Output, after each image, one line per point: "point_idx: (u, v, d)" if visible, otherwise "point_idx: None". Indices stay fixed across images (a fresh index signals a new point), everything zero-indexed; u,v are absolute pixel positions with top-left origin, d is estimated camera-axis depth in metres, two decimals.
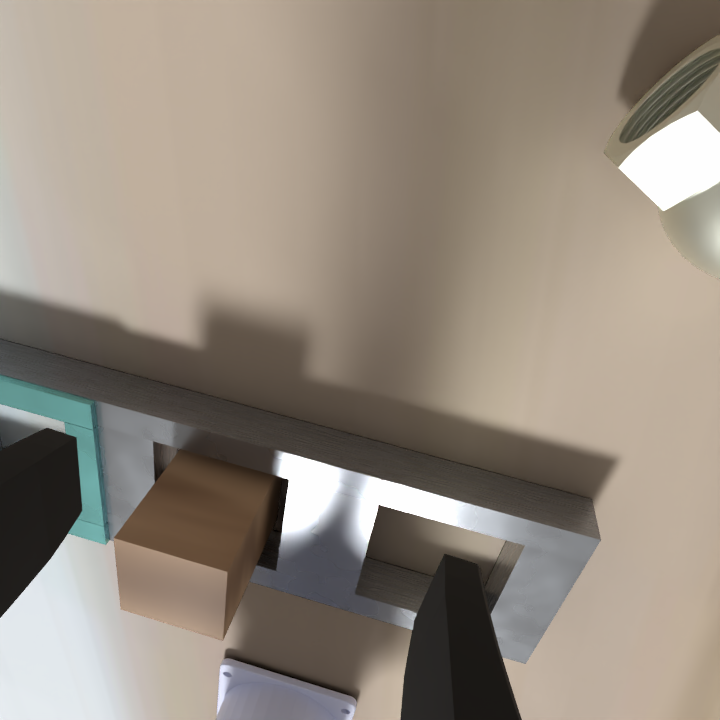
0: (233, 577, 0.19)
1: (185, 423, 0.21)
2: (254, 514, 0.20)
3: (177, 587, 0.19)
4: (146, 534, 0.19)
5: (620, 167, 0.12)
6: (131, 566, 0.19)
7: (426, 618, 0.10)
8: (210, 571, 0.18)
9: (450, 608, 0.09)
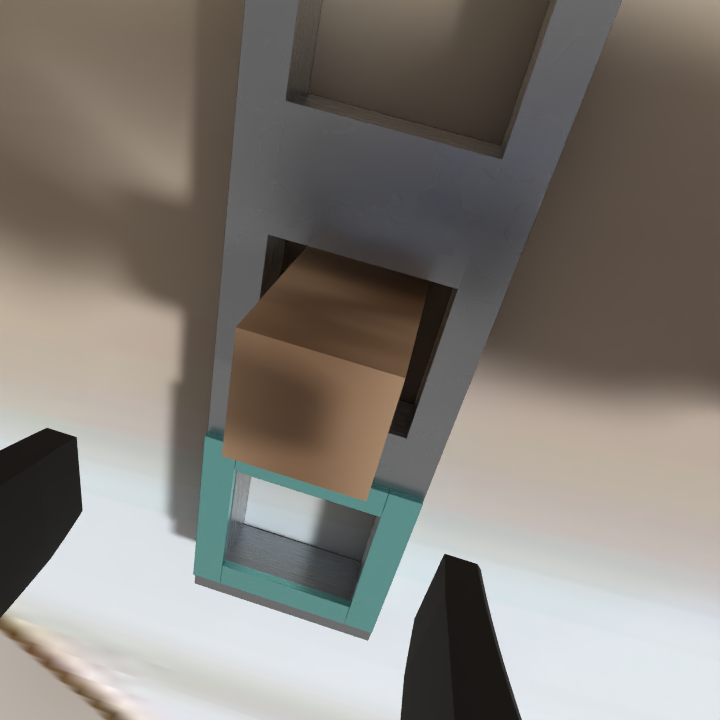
0: (290, 328, 0.13)
1: None
2: (273, 286, 0.15)
3: (294, 407, 0.13)
4: None
5: None
6: (268, 454, 0.14)
7: (426, 618, 0.10)
8: (243, 351, 0.13)
9: (450, 608, 0.09)
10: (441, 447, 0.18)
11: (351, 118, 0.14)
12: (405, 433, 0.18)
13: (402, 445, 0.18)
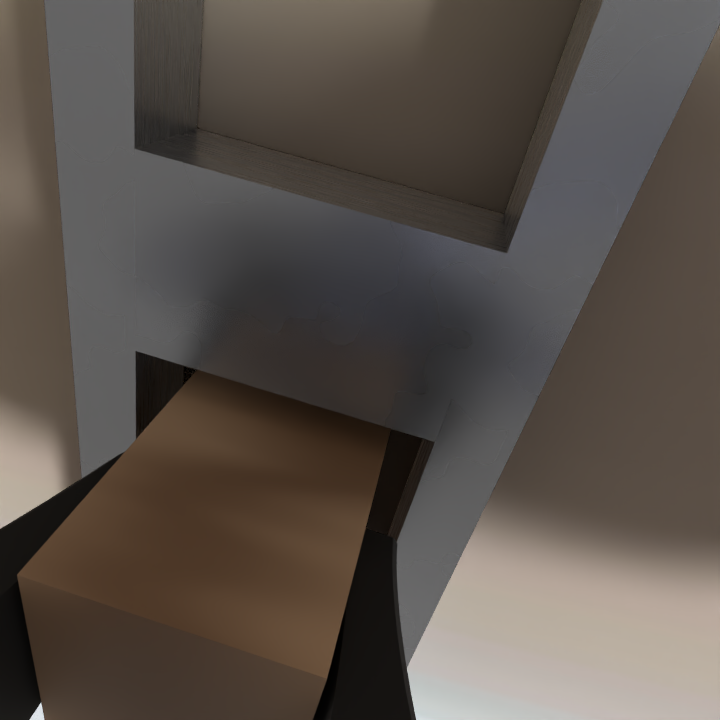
0: (128, 562, 0.07)
1: None
2: (130, 447, 0.09)
3: (142, 688, 0.08)
4: None
5: None
6: None
7: None
8: (39, 608, 0.07)
9: (354, 577, 0.09)
10: (416, 639, 0.12)
11: (247, 179, 0.08)
12: None
13: None
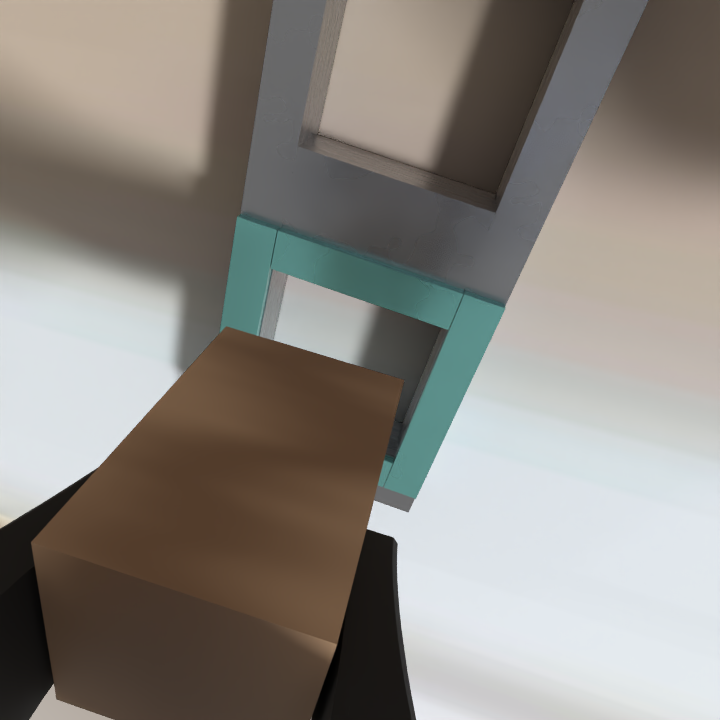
0: (139, 531, 0.07)
1: (262, 79, 0.14)
2: (140, 423, 0.09)
3: (153, 658, 0.08)
4: None
5: None
6: (126, 707, 0.09)
7: None
8: (52, 576, 0.07)
9: (354, 577, 0.09)
10: (539, 224, 0.14)
11: None
12: (493, 209, 0.15)
13: (488, 224, 0.15)
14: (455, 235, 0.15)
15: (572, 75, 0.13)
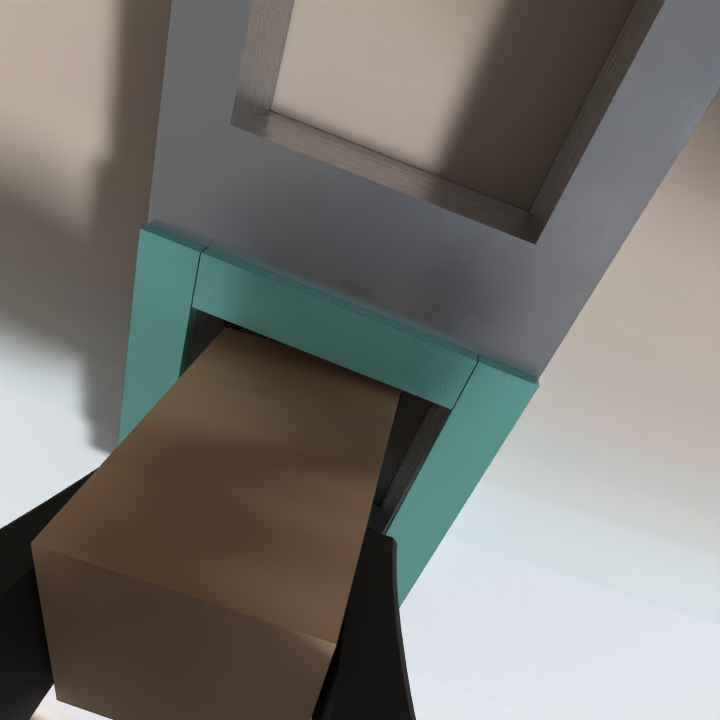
0: (139, 532, 0.07)
1: (174, 12, 0.09)
2: (139, 424, 0.09)
3: (153, 658, 0.08)
4: None
5: None
6: (126, 707, 0.09)
7: None
8: (52, 576, 0.07)
9: (354, 577, 0.09)
10: (602, 266, 0.09)
11: None
12: (530, 238, 0.09)
13: (523, 261, 0.09)
14: (469, 275, 0.10)
15: (686, 24, 0.07)
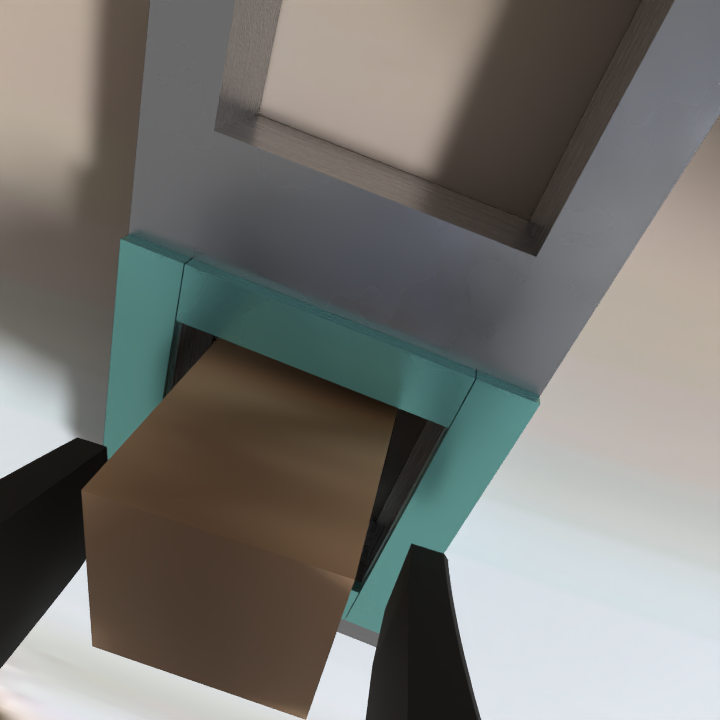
0: (176, 483, 0.08)
1: (153, 12, 0.08)
2: (170, 393, 0.10)
3: (186, 600, 0.09)
4: None
5: None
6: (158, 651, 0.10)
7: (393, 607, 0.10)
8: (98, 522, 0.08)
9: (412, 596, 0.09)
10: (607, 279, 0.09)
11: None
12: (531, 250, 0.09)
13: (523, 274, 0.09)
14: (467, 288, 0.09)
15: (698, 24, 0.07)
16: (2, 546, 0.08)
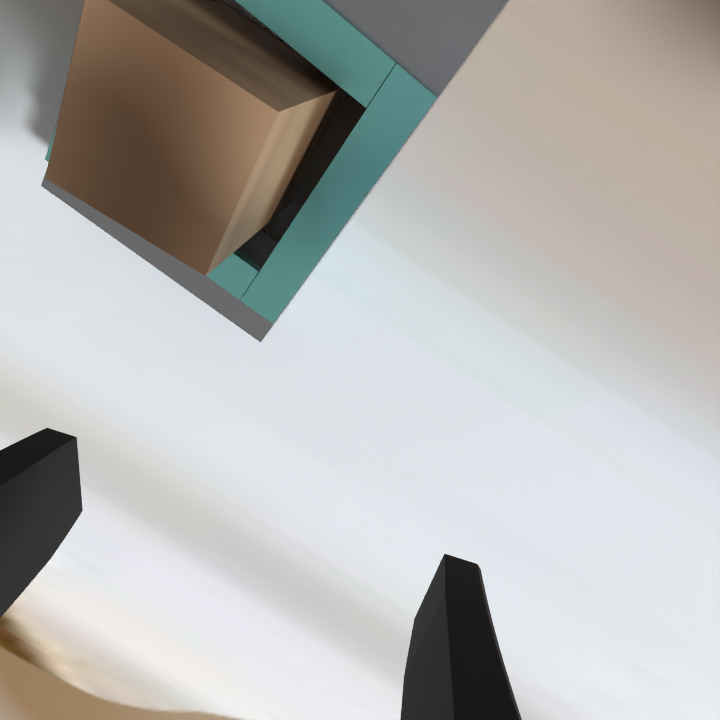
0: (158, 22, 0.11)
1: None
2: None
3: (141, 126, 0.11)
4: None
5: None
6: (102, 187, 0.12)
7: (426, 618, 0.10)
8: (91, 26, 0.10)
9: (450, 608, 0.09)
10: None
11: None
12: None
13: None
14: None
15: None
16: None
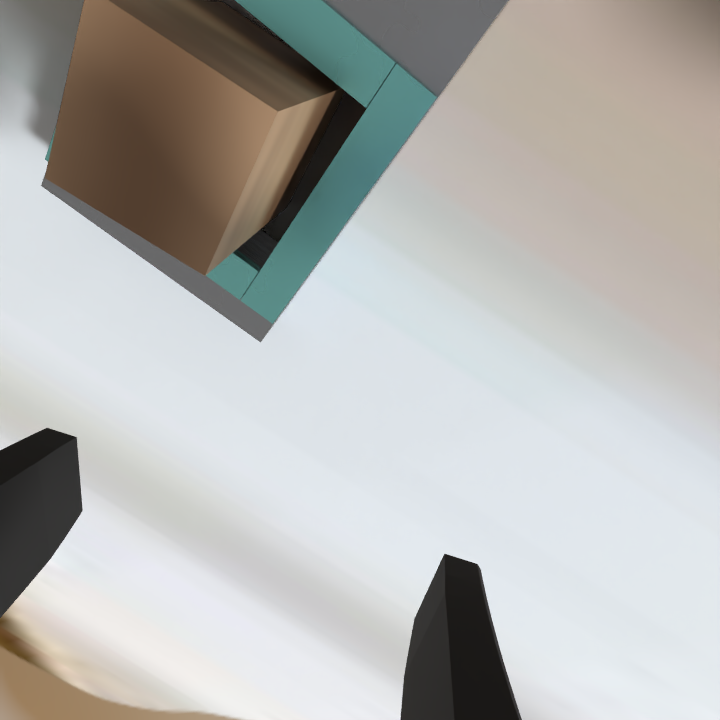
0: (158, 22, 0.11)
1: None
2: None
3: (141, 125, 0.11)
4: None
5: None
6: (101, 186, 0.12)
7: (426, 618, 0.10)
8: (91, 26, 0.10)
9: (450, 608, 0.09)
10: None
11: None
12: None
13: None
14: None
15: None
16: None
